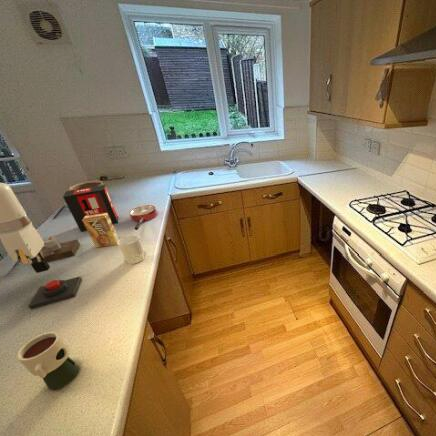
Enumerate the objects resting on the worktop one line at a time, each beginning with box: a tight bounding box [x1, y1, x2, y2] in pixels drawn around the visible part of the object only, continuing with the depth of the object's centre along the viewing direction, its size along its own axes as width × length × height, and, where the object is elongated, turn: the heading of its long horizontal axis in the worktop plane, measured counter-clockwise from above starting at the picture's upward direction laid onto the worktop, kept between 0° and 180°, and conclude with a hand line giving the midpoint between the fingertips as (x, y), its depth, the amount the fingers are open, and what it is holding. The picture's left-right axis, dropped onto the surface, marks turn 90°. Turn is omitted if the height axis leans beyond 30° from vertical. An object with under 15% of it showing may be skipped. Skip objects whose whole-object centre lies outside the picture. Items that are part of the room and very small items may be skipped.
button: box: [44, 279, 61, 291], centre depth 85 cm, size 4×4×2 cm
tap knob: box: [42, 236, 61, 252], centre depth 105 cm, size 4×4×5 cm
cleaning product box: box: [62, 184, 119, 233], centre depth 128 cm, size 16×9×20 cm, turn 123°
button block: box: [28, 276, 83, 310], centre depth 86 cm, size 12×10×4 cm
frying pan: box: [129, 204, 158, 231], centre depth 130 cm, size 32×13×6 cm, turn 29°
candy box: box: [82, 213, 120, 249], centre depth 111 cm, size 9×4×15 cm, turn 110°
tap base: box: [41, 239, 81, 263], centre depth 107 cm, size 14×10×3 cm
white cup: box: [116, 234, 145, 265], centre depth 101 cm, size 8×8×10 cm
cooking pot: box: [68, 180, 109, 193], centre depth 156 cm, size 25×19×12 cm
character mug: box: [16, 331, 80, 390], centre depth 58 cm, size 11×7×13 cm, turn 33°
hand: (43, 270), depth 81 cm, fingers closed
